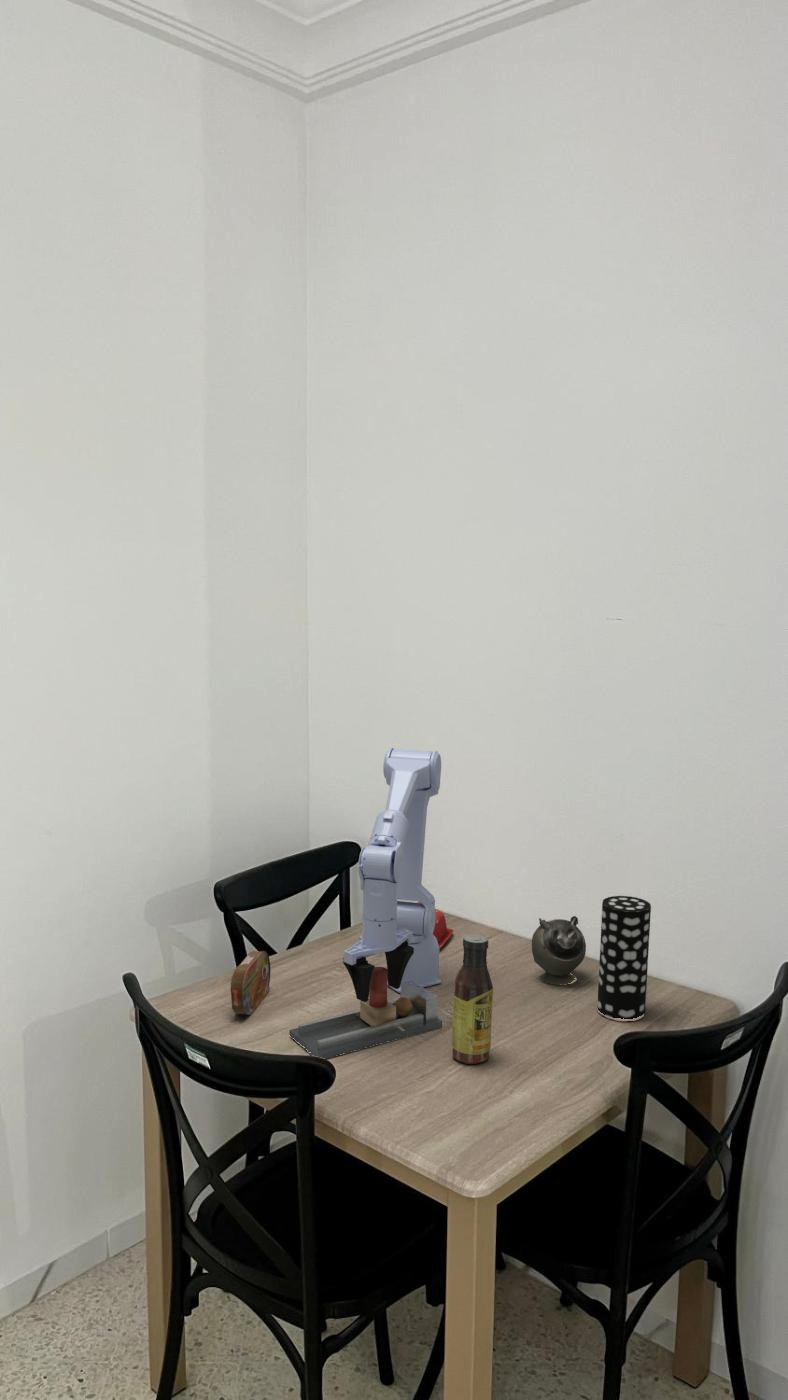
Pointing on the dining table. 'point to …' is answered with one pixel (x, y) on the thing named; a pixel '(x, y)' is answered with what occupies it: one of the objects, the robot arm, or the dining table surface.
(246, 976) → the tin
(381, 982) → the press slider
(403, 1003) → the nut
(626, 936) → the white-spotted black cylinder
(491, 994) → the sauce bottle
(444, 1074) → the dining table surface
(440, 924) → the butter dish
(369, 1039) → the base
